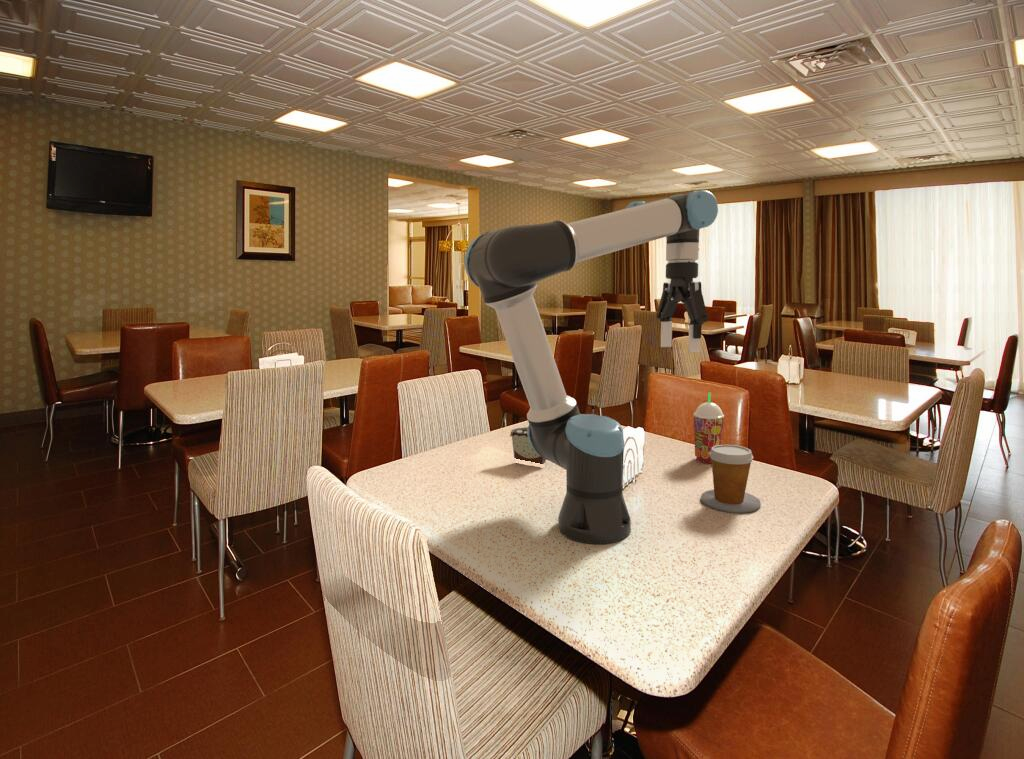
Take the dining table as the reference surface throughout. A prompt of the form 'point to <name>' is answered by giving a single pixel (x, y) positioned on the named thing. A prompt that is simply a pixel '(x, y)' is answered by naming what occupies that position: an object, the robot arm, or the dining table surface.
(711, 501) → the coaster
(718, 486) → the disposable coffee cup
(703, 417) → the smoothie
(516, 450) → the food container
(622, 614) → the dining table surface
